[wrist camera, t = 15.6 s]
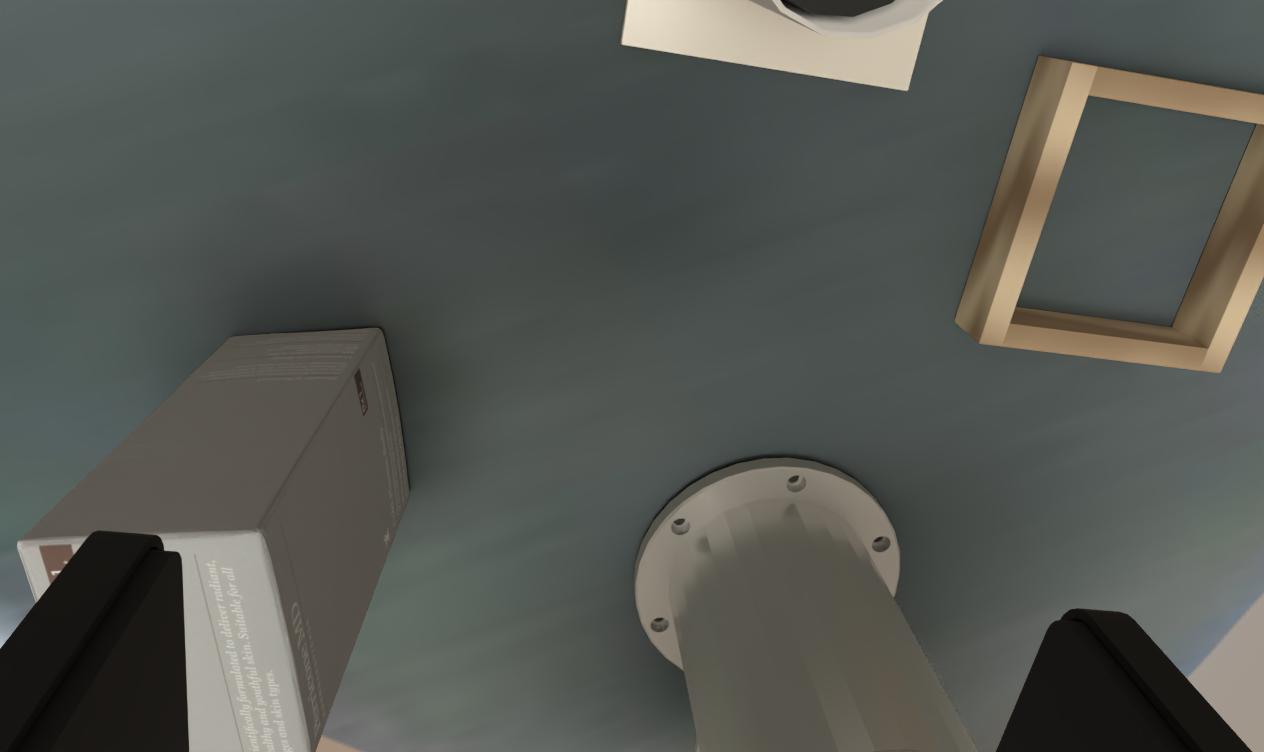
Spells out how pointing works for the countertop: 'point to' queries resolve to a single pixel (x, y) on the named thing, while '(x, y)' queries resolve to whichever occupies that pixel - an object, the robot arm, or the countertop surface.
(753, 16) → the coaster
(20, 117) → the countertop surface
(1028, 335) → the wooden frame
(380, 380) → the skincare box
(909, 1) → the drinking glass
